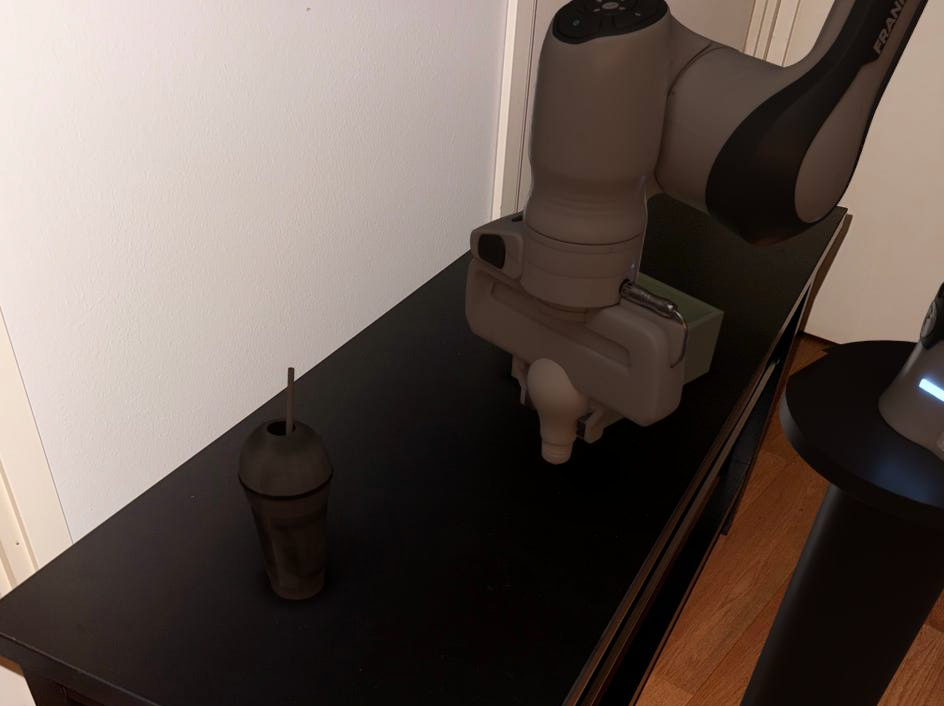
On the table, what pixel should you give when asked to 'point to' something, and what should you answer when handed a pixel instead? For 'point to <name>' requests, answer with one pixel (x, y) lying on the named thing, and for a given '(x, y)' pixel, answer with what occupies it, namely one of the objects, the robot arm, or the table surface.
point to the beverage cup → (289, 500)
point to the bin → (702, 331)
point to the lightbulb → (556, 408)
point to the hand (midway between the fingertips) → (559, 420)
